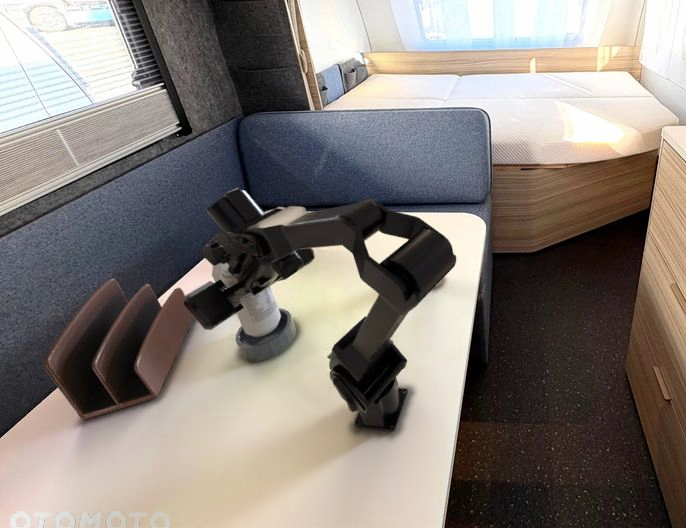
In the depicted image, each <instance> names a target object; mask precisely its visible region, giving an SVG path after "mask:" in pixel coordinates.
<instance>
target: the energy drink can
mask: <svg viewBox="0 0 686 528" xmlns="http://www.w3.org/2000/svg"><path fill="white" fill-rule="evenodd" d="M228 268H229V265H228V264H227V263H225V264H222V266H221V269H222V272H221V275H220V278H221V280H222V282H223V283H224V284H225V285H226V286H227V288H228V287H232V286H233V285H235V284H236V283H238V281H237V280H236V278H235V277H236V276H237V275H236V274H235V275H232V274H231V273H230V272H229V271H228ZM243 289H244V288H243ZM243 289H242V290H243ZM242 290H240V291H242ZM244 290H245V289H244ZM240 291H239V292H237V293H240ZM242 292H243V291H242ZM237 293H235V294H237ZM237 295H238V294H237ZM240 303H241V304H242V306H243V307H244V308H243V309H241V310H240V311H238V312H237V313H235V315H236V316H237V318H238V320H239V323H240V324H241V325H240V326H242V327H243V329H244V332H245V333H246V334H248V335H251V336H253V337H259V336H263V335H266V334H268V333H270V332H271V331H273V330H274V329H275V328H276V327H277V325H278V323H279V320H280V318H281V314H280V312H279V309H280V308H279V307H278V304H277V302H276V299H275V296H274V292H273V291H272V288H271V286H269V287H268V288H266V289H265V290H263V291H262V292H260V293H259V294H258V295H256V296H254V295H253V294H252V293H251V292H250V293H249V294H247V295H246V296H244V297H243V298H241V299H240Z"/></svg>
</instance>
